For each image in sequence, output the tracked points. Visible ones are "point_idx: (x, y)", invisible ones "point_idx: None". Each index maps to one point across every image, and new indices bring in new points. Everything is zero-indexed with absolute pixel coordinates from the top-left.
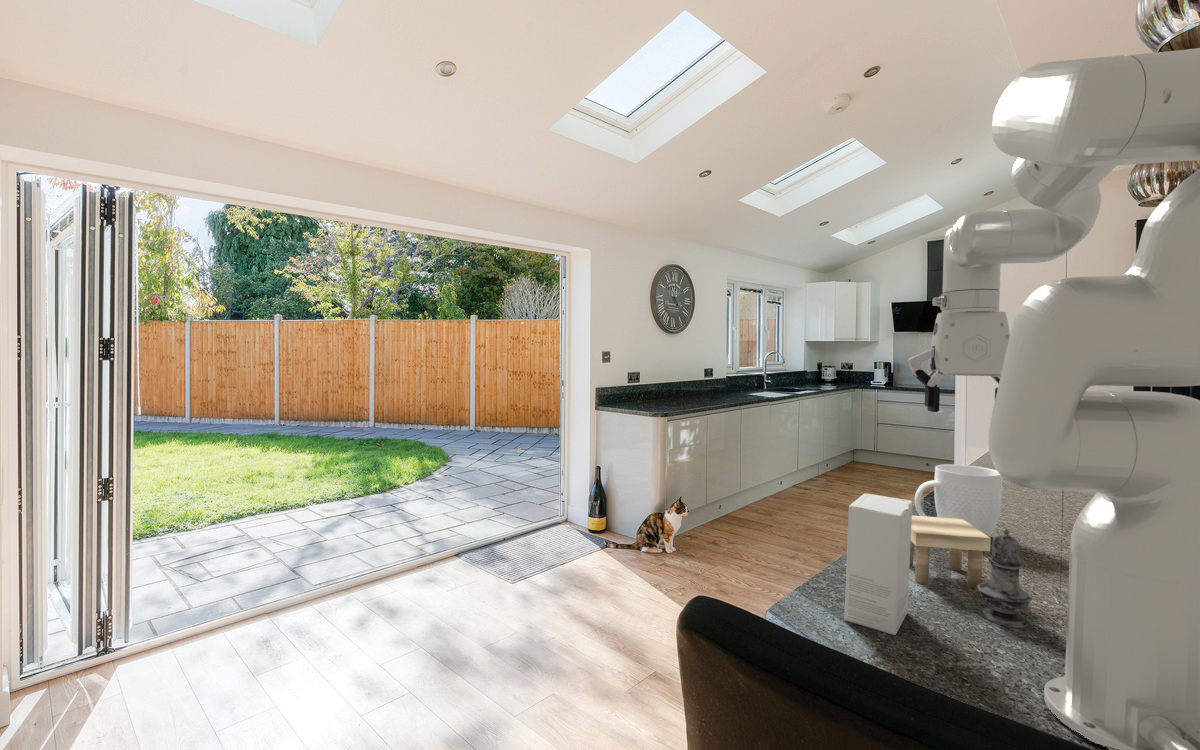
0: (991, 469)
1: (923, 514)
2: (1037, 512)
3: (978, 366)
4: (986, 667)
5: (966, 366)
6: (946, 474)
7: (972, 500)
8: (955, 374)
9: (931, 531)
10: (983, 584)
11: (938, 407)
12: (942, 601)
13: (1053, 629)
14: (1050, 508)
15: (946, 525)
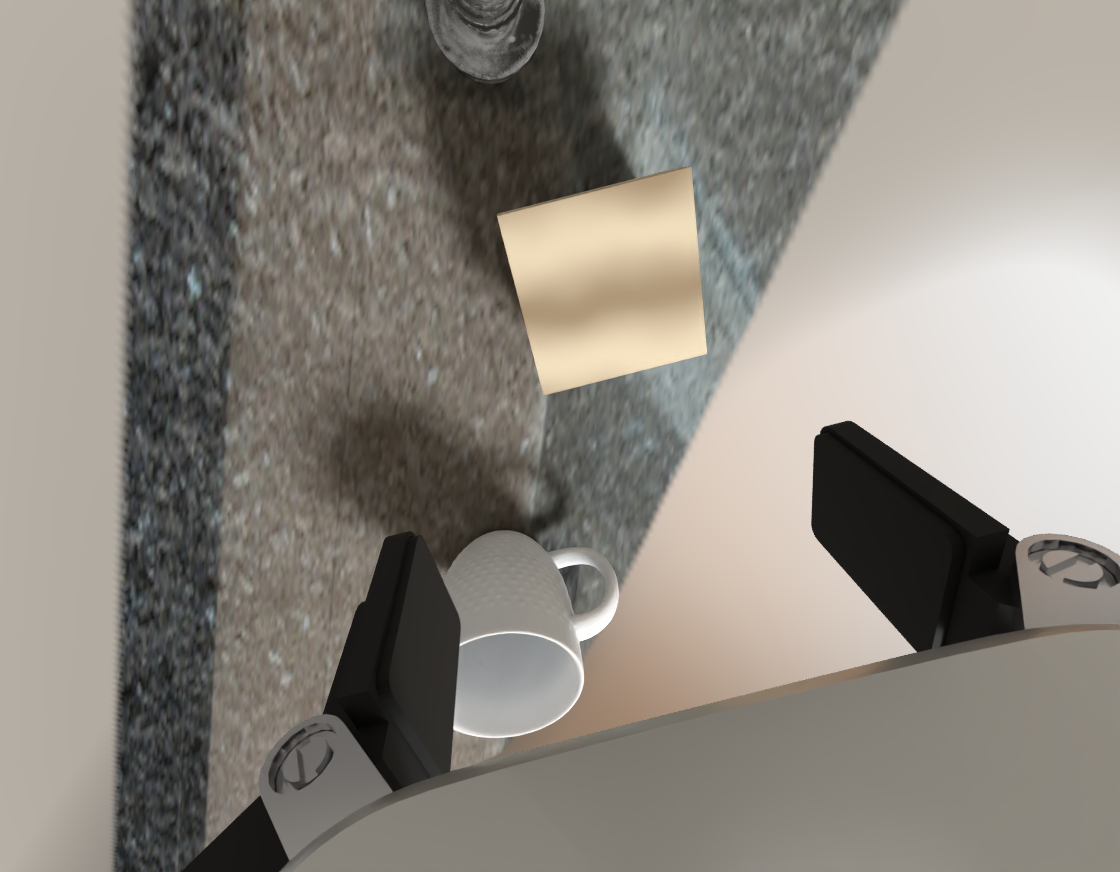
0: None
1: (593, 552)
2: None
3: (750, 852)
4: None
5: (951, 800)
6: (562, 636)
7: (498, 578)
8: (978, 643)
9: (646, 206)
10: (529, 31)
11: (837, 443)
12: (603, 76)
13: (389, 3)
14: None
15: (594, 299)
